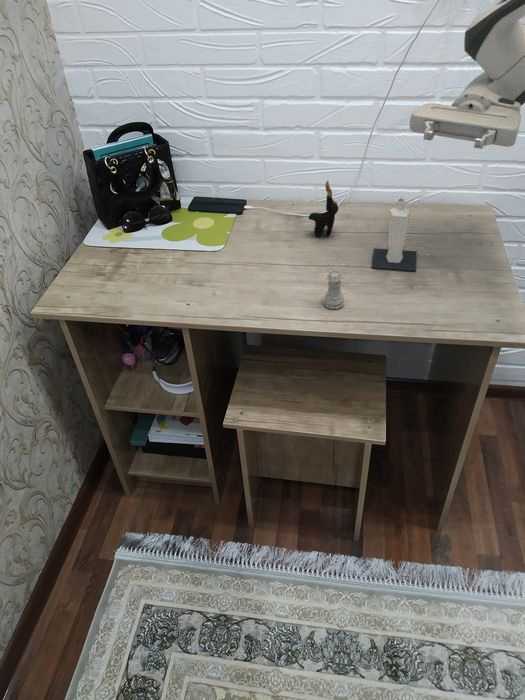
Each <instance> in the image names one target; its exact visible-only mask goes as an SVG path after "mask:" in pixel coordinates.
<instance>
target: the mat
mask: <svg viewBox="0 0 525 700" xmlns="http://www.w3.org/2000/svg"><path fill="white" fill-rule="evenodd" d="M387 253H388V248H377V247H373V254H372V260H371V267H370V269H371V270H381V271H394V272H395V271H396V272H407V273H416V272H417V257H418V256H417V254H418V250H405V249H403V250H402V255H403V258H402V260H401V261H400V263H394V262H388V260H387V258H386V255H387Z"/></svg>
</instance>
